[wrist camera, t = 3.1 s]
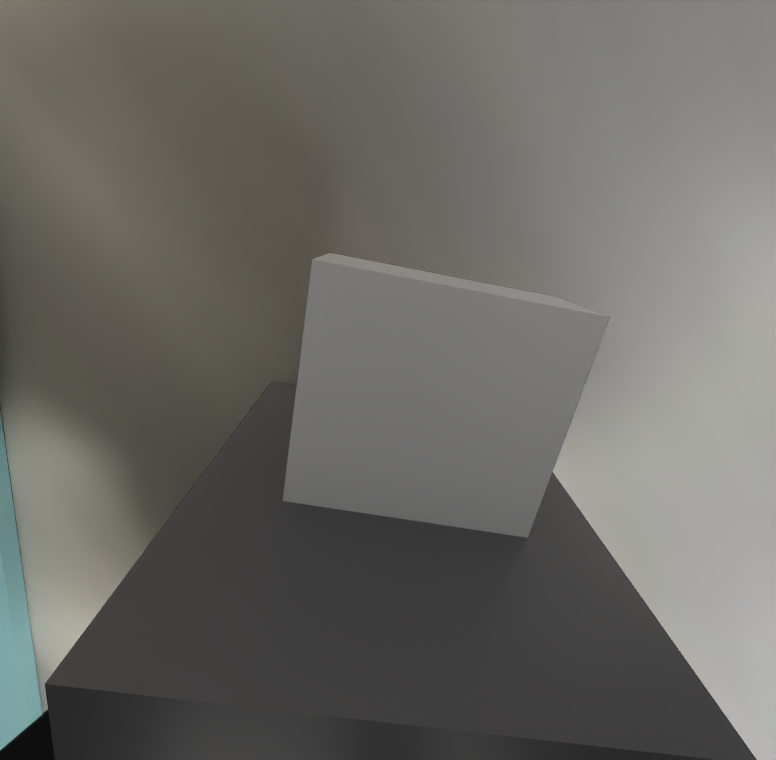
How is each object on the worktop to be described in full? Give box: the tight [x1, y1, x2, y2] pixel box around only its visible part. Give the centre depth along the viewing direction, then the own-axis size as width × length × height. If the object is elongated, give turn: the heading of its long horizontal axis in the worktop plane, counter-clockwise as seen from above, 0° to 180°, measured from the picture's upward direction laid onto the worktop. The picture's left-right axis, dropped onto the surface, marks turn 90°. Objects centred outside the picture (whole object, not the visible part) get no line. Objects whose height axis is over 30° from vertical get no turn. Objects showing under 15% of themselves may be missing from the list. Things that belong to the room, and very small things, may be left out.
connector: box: [45, 253, 756, 760], centre depth 6 cm, size 12×4×5 cm, turn 169°
